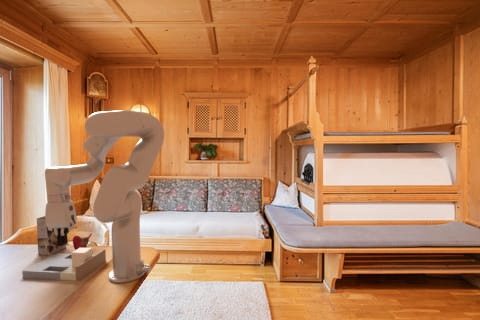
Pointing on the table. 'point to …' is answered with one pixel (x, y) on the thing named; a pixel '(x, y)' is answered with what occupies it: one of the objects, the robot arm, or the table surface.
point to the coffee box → (46, 239)
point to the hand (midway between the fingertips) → (62, 244)
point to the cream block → (81, 255)
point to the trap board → (64, 267)
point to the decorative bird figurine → (80, 242)
